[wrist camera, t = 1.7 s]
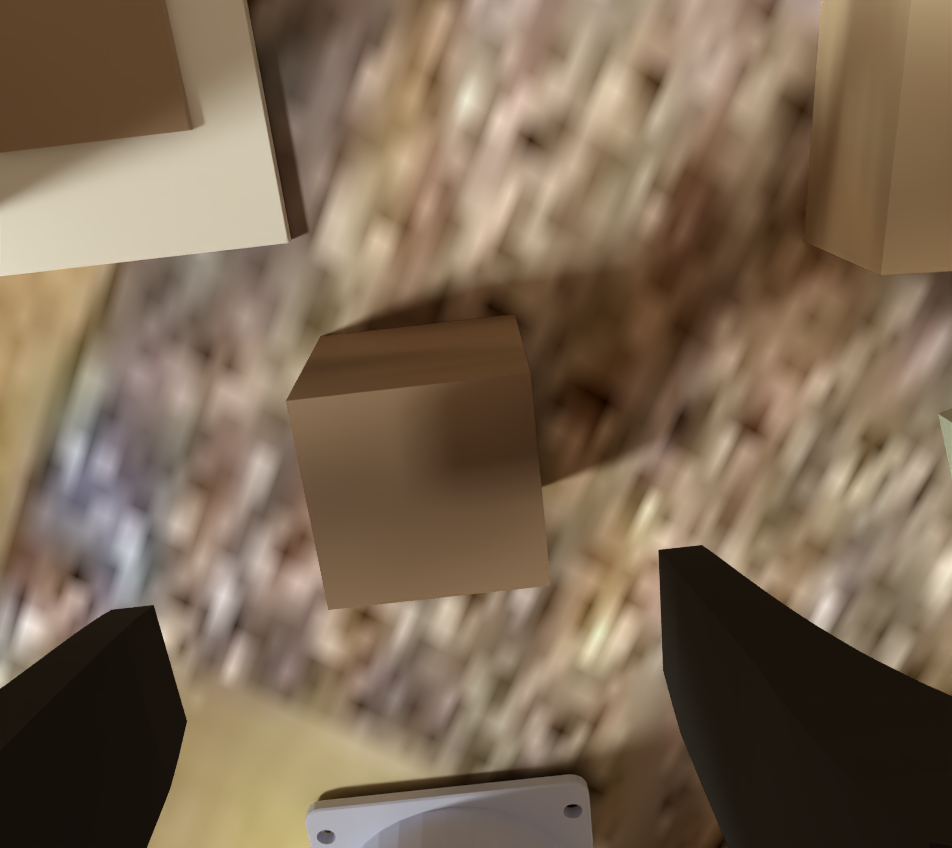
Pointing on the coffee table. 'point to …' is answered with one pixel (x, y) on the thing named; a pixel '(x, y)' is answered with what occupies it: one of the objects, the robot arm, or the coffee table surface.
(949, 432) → the sage cube
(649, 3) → the coffee table surface
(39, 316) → the coffee table surface
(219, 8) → the card
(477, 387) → the walnut cube
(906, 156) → the maple base
